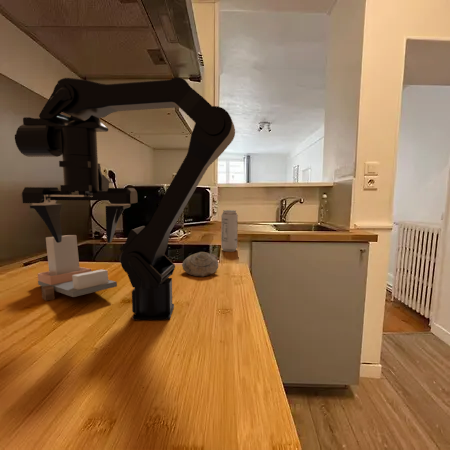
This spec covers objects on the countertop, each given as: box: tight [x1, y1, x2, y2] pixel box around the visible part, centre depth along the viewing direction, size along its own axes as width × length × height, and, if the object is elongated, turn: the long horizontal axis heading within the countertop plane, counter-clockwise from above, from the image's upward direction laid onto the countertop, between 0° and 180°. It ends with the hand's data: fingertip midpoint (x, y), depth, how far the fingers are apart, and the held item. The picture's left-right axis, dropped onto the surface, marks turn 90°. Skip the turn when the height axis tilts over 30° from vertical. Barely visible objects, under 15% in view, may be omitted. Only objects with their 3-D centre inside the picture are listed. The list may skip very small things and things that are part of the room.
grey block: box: [45, 234, 81, 276], centre depth 71 cm, size 5×5×10 cm
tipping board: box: [37, 266, 118, 298], centre depth 67 cm, size 21×9×4 cm, turn 47°
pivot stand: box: [40, 285, 56, 302], centre depth 67 cm, size 2×13×2 cm, turn 137°
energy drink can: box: [220, 209, 239, 253], centre depth 114 cm, size 6×6×15 cm
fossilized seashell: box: [181, 251, 219, 278], centre depth 85 cm, size 11×11×7 cm
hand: (84, 242), depth 56 cm, fingers open, 9 cm apart
